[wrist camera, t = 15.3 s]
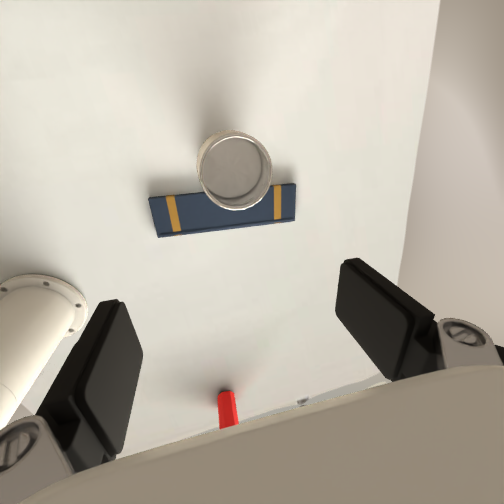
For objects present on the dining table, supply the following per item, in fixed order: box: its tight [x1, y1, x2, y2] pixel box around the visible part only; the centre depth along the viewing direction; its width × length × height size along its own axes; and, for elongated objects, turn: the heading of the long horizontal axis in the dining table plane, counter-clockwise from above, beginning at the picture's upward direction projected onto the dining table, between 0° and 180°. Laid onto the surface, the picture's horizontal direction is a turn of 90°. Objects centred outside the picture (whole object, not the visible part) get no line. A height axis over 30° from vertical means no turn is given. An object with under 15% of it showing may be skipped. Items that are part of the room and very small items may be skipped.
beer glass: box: [196, 130, 272, 210], centre depth 28 cm, size 7×7×15 cm
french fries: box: [218, 391, 239, 429], centre depth 53 cm, size 9×4×13 cm, turn 178°
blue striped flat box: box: [148, 183, 296, 238], centre depth 37 cm, size 22×6×1 cm, turn 93°
